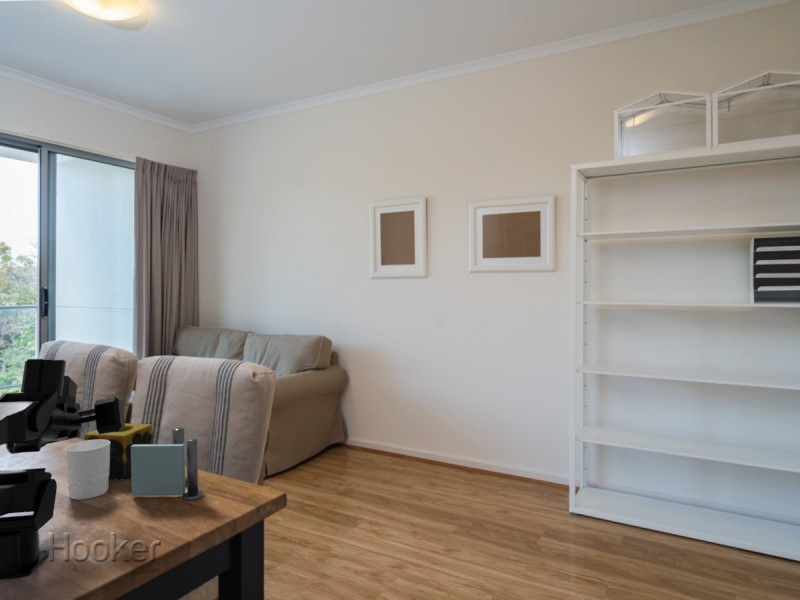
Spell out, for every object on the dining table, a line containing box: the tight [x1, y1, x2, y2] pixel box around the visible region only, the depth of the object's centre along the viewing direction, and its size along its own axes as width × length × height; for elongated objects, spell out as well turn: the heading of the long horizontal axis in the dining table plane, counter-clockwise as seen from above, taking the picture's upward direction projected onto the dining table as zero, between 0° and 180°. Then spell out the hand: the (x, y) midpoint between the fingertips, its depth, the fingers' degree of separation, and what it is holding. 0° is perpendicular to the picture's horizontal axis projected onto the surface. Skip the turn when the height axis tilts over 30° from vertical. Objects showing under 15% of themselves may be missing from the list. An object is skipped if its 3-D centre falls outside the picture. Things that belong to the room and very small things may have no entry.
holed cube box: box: [83, 423, 153, 481], centre depth 115 cm, size 10×10×10 cm
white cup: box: [64, 439, 110, 501], centre depth 103 cm, size 8×8×10 cm
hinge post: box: [181, 438, 204, 502], centre depth 101 cm, size 4×4×12 cm
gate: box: [130, 443, 186, 497], centre depth 101 cm, size 10×1×10 cm, turn 90°
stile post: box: [171, 426, 187, 483], centre depth 109 cm, size 3×3×12 cm
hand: (86, 426), depth 100 cm, fingers open, 9 cm apart
